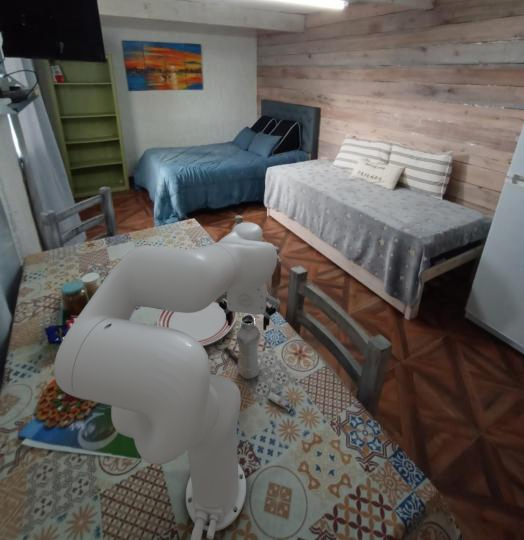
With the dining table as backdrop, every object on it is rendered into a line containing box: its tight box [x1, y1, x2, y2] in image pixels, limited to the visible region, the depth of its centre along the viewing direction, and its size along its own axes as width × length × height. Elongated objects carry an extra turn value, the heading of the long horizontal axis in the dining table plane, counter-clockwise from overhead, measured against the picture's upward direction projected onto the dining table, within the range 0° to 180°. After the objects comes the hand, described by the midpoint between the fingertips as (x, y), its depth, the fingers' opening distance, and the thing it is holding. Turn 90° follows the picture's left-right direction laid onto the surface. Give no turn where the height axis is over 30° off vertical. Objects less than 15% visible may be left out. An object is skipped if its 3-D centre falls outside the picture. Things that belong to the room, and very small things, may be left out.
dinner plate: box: [156, 298, 238, 347], centre depth 110 cm, size 27×27×3 cm
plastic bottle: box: [235, 314, 262, 380], centre depth 89 cm, size 6×7×20 cm
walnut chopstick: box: [224, 347, 239, 364], centre depth 98 cm, size 7×1×1 cm, turn 44°
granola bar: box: [267, 390, 293, 412], centre depth 84 cm, size 7×2×1 cm, turn 58°
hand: (247, 324), depth 85 cm, fingers open, 9 cm apart
